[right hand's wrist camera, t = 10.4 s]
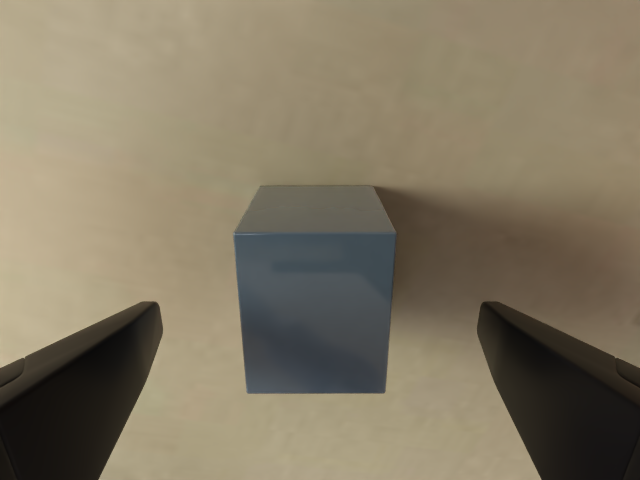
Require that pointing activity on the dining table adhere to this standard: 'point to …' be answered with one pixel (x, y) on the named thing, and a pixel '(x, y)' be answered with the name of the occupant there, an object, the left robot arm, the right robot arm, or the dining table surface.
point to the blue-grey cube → (315, 289)
